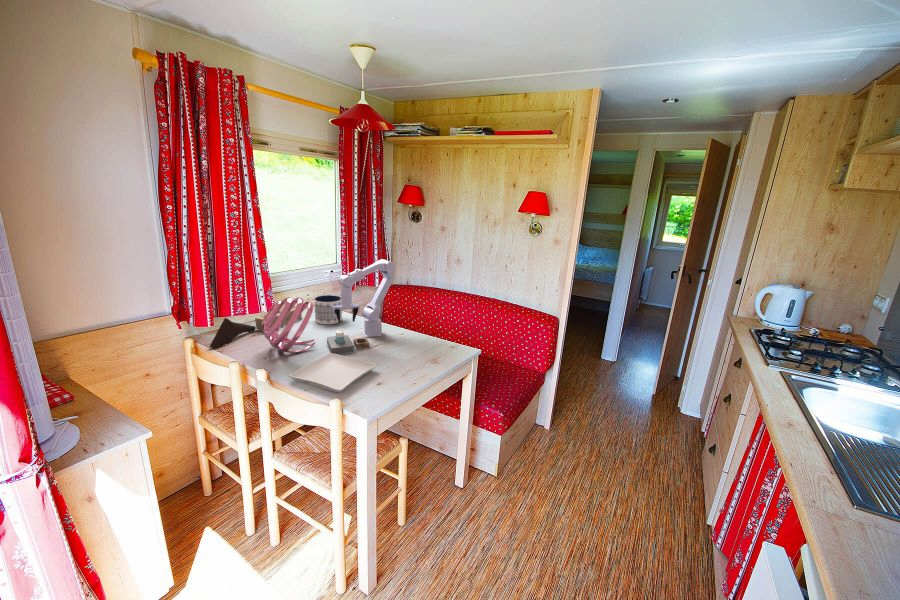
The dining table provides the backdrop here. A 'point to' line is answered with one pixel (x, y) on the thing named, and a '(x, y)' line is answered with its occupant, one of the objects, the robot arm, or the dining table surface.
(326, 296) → the planter
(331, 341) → the port block
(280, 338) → the spiral basket
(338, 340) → the plug
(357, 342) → the plug holster
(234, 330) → the holster
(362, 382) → the dining table surface
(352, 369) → the square plate
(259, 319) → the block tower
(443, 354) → the dining table surface
